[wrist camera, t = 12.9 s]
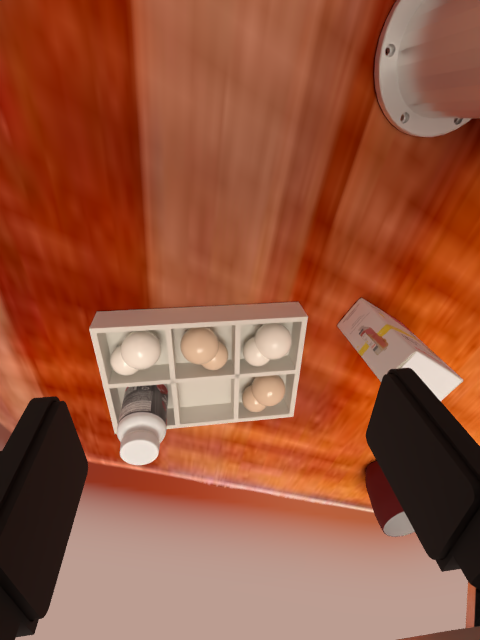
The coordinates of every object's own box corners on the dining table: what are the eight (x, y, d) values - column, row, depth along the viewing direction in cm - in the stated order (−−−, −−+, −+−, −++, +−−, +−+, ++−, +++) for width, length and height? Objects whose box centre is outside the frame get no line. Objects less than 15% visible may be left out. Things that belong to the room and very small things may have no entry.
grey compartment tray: (298, 301, 41) (307, 316, 38) (286, 398, 49) (293, 416, 46) (96, 311, 38) (89, 328, 35) (119, 412, 46) (114, 434, 43)
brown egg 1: (172, 334, 40) (171, 357, 36) (200, 312, 39) (202, 333, 35) (208, 364, 43) (211, 387, 39) (234, 344, 42) (240, 366, 38)
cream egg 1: (142, 315, 38) (137, 337, 34) (170, 339, 40) (168, 362, 36) (104, 347, 40) (95, 372, 36) (132, 368, 42) (127, 393, 38)
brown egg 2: (264, 359, 44) (271, 382, 40) (287, 374, 46) (296, 397, 42) (232, 389, 46) (236, 414, 42) (255, 402, 48) (261, 427, 44)
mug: (381, 439, 57) (415, 495, 49) (414, 447, 60) (453, 501, 52) (346, 477, 62) (372, 534, 53) (379, 483, 64) (409, 538, 56)
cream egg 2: (271, 308, 40) (279, 328, 36) (293, 329, 42) (303, 350, 38) (232, 342, 42) (237, 364, 38) (256, 360, 44) (262, 383, 40)
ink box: (404, 323, 45) (468, 382, 35) (378, 350, 47) (432, 413, 37) (361, 295, 42) (417, 351, 32) (335, 324, 43) (381, 386, 33)
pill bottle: (173, 400, 45) (170, 463, 37) (133, 408, 45) (122, 474, 37) (162, 369, 42) (157, 431, 34) (119, 378, 42) (104, 442, 34)
